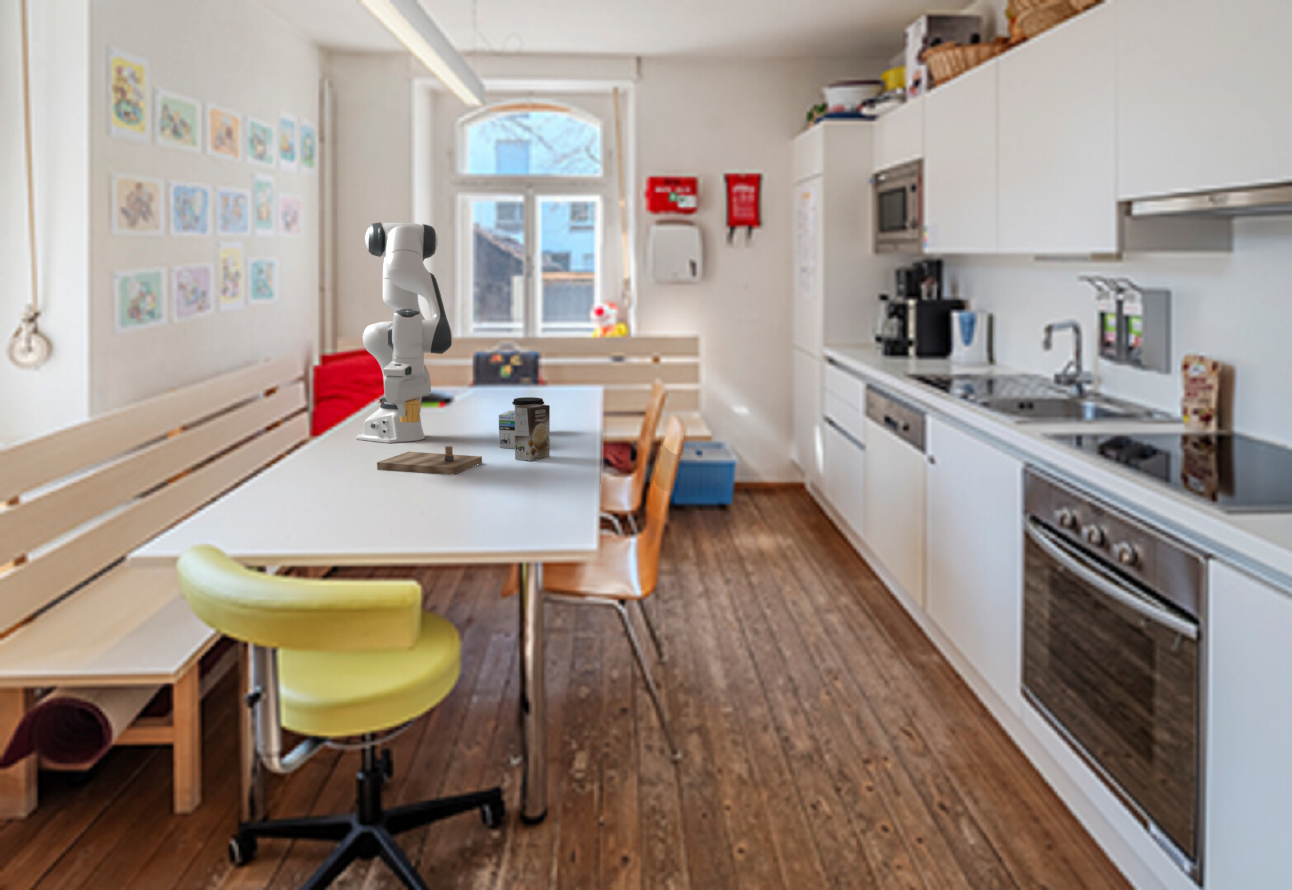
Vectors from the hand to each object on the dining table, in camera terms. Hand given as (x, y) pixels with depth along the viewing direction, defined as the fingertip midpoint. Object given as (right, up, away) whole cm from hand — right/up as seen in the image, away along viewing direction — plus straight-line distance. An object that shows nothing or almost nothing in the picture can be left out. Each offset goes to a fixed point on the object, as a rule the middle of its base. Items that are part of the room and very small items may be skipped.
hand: (409, 414), depth 295 cm
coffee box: (+34, -13, +14) cm, 39 cm away
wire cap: (0, -2, 0) cm, 2 cm away
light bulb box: (+26, -9, +35) cm, 44 cm away
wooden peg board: (+6, -15, +1) cm, 16 cm away
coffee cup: (+28, -5, +59) cm, 65 cm away
